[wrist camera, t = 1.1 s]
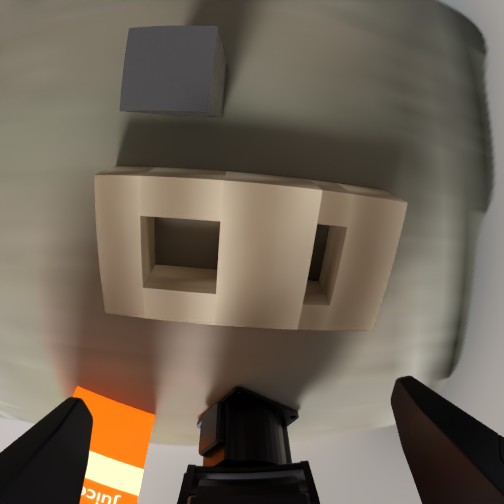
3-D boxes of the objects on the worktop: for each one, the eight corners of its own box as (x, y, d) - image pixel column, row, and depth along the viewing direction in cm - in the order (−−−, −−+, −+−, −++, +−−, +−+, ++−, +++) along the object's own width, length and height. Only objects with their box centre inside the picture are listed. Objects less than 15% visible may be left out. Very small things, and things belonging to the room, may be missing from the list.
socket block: (385, 190, 18) (407, 202, 15) (358, 305, 21) (372, 330, 18) (115, 166, 17) (94, 175, 14) (120, 288, 20) (105, 313, 17)
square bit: (227, 65, 15) (217, 26, 8) (221, 117, 16) (208, 111, 10) (172, 63, 15) (128, 28, 8) (167, 114, 16) (119, 110, 9)
